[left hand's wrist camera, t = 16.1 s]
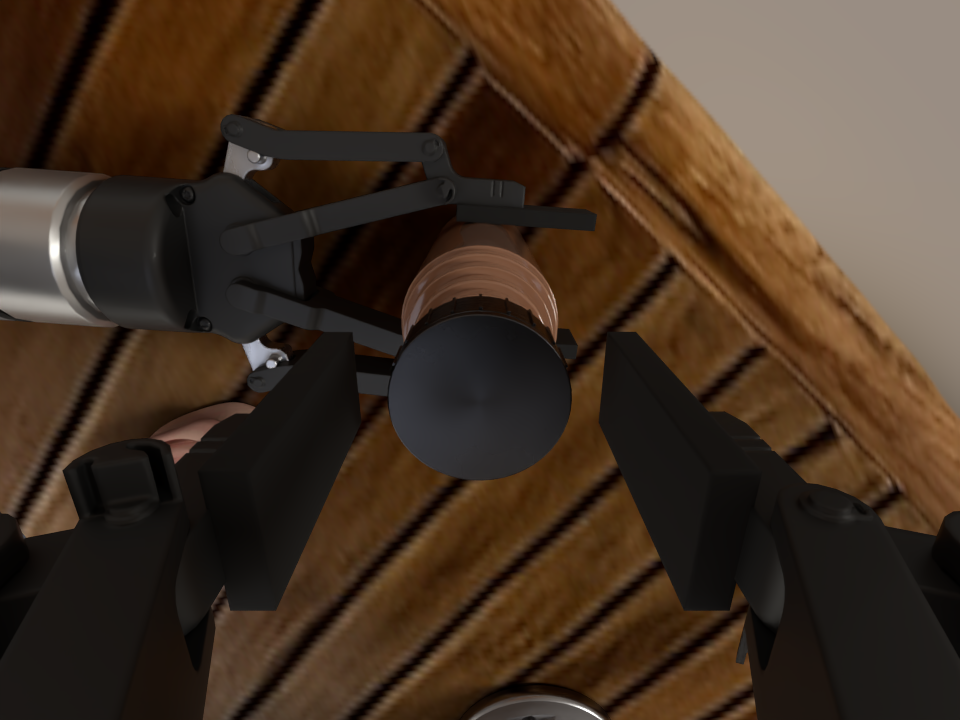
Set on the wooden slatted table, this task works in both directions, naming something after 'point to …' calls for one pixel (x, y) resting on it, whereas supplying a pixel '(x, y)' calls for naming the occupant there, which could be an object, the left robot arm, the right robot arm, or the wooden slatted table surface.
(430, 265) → the bottle
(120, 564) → the left robot arm
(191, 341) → the wooden slatted table surface
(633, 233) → the wooden slatted table surface
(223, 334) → the right robot arm
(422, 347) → the cap
